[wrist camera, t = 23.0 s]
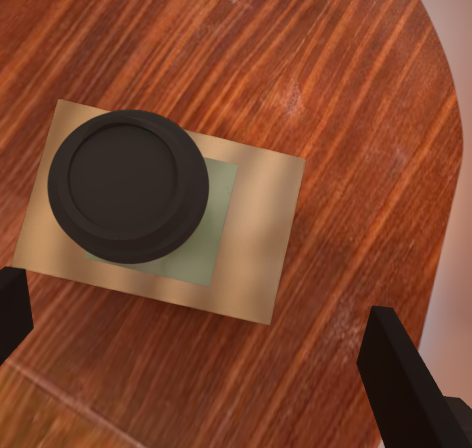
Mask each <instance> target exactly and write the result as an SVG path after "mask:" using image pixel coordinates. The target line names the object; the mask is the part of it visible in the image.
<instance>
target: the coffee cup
mask: <svg viewBox="0 0 472 448" xmlns="http://www.w3.org/2000/svg"><path fill="white" fill-rule="evenodd" d="M47 191H48V199H49V204H50V207H51V210H52V213H53V215H54V217H55V219H56V221H57V222H58V224H59V225H60V227H61V228H62V230H63V231H64V232H65V233H66V234H67V235H68V236H69V237H70V238H71V239H72V240H73V241H75V242H76V243H77V244H78V245H79V246H80V247H81V248H83V249H84V250H85V251H87V252H89V253H90V254H92V255H94V256H96V257H98V258H101V259H103V260H106V261H110V262H114V263H120V264H139V263H146V262H150V261H153V260H157V259H159V258H162V257H164V256H166V255H168V254H170V253H171V252H173V251H174V250H176V249H177V248H179V247H180V246H181V245H182V244H184V243H185V242H186V241H187V240H188V239H189V238H190V237H191V236H192V235H193V233H194V232H195V231H196V229H197V228H198V226H199V224H200V222H201V220H202V218H203V215H204V213H205V210H206V206H207V202H208V196H209V177H208V171H207V167H206V164H205V161H204V158H203V156H202V154H201V152H200V150H199V148H198V147H197V145H196V143H195V142H194V141H193V139H192V138H191V137H190V136H189V135H188V134H187V132H185V131H184V130H183V129H182V128H181V127H180V126H178V125H177V124H176V123H174V122H172V121H171V120H169V119H167V118H165V117H163V116H160V115H158V114H155V113H151V112H147V111H141V110H118V111H112V112H108V113H104V114H101V115H99V116H96V117H94V118H92V119H90V120H88V121H86V122H84V123H83V124H81V125H80V126H79V127H77V128H76V129H75V130H74V131H72V132H71V133H70V134H69V135H68V136H67V138H66V139H65V140H64V141H63V142H62V144H61V145H60V147H59V148H58V150H57V152H56V153H55V155H54V158H53V160H52V163H51V166H50V169H49V174H48V181H47Z"/></svg>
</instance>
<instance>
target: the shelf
mask: <svg viewBox="0 0 472 448" xmlns="http://www.w3.org/2000/svg"><path fill="white" fill-rule="evenodd" d="M108 112H110V111H106V110H102V109H98V108H94V107H90V106H86V105H82V104H78V103H73V102H69V101H65V100H61V99H58V102H57V105H56V109H55V112H54V116H53V119H52V123H51V126H50V130H49V133H48V137H47V140H46V144H45V147H44V151H43V154H42V158H41V161H40V165H39V168H38V172H37V175H36V179H35V182H34V186H33V189H32V193H31V196H30V200H29V203H28V207H27V210H26V214H25V217H24V221H23V224H22V228H21V231H20V235H19V238H18V242H17V245H16V249H15V252H14V256H13V259H12V263H11V267H16V268H25V270H28V271H33V272H37V273H42V274H46V275H50V276H55V277H59V278H63V279H68V280H72V281H77V282H81V283H85V284H90V285H94V286H98V287H103V288H107V289H112V290H116V291H120V292H125V293H129V294H133V295H138V296H142V297H147V298H151V299H155V300H160V301H164V302H168V303H173V304H177V305H182V306H186V307H190V308H195V309H199V310H204V311H208V312H212V313H217V314H221V315H225V316H230V317H234V318H239V319H243V320H247V321H252V322H256V323H260V324H265V325H270V323H271V318H272V314H273V309H274V304H275V300H276V295H277V291H278V286H279V282H280V277H281V273H282V268H283V263H284V259H285V254H286V250H287V245H288V241H289V236H290V232H291V227H292V222H293V218H294V213H295V209H296V204H297V200H298V195H299V191H300V186H301V182H302V177H303V172H304V168H305V163H306V159H304V158H299V157H295V156H291V155H287V154H283V153H279V152H275V151H271V150H267V149H263V148H258V147H254V146H250V145H246V144H242V143H238V142H234V141H230V140H226V139H221V138H217V137H213V136H209V135H205V134H201V133H197V132H193V131H189V130H184V129H183V130H184V131H185V132H187V134H188V135H189V136H190V137H191V138H192V139H193V141H194V142H195V143H196V145H197V147H198V148H199V150H200V152H201V154H202V156H203V158H204V161H205V164H206V167H207V171H208V177H209V196H208V202H207V206H206V210H205V213H204V215H203V218H202V220H201V222H200V224H199V226H198V228H197V229H196V231H195V232H194V233H193V235H192V236H191V237H190V238H189V239H188V240H187V241H186V242H185V243H184V244H182V245H181V246H180V247H179V248H177V249H176V250H174V251H173V252H171V253H170V254H168V255H166V256H164V257H162V258H159V259H157V260H153V261H150V262H146V263H139V264H120V263H114V262H110V261H106V260H103V259H101V258H98V257H96V256H94V255H92V254H90V253H89V252H87V251H85V250H84V249H83V248H81V247H80V246H79V245H78V244H77V243H76V242H75V241H73V240H72V239H71V238H70V237H69V236H68V235H67V234H66V233H65V232H64V231H63V230H62V228H61V227H60V225H59V224H58V222H57V221H56V219H55V217H54V215H53V213H52V210H51V207H50V204H49V199H48V191H47V181H48V174H49V169H50V166H51V163H52V160H53V158H54V155H55V153H56V152H57V150H58V148H59V147H60V145H61V144H62V142H63V141H64V140H65V139H66V138H67V136H68V135H69V134H70V133H71V132H72V131H74V130H75V129H76V128H77V127H79V126H80V125H81V124H83V123H84V122H86V121H88V120H90V119H92V118H94V117H96V116H99V115H101V114H104V113H108Z"/></svg>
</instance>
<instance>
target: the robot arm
mask: <svg viewBox="0 0 472 448" xmlns="http://www.w3.org/2000/svg"><path fill="white" fill-rule="evenodd" d="M33 328H34V326H33V319H32V312H31V305H30V298H29V291H28V284H27V277H26V270H25V268H16V267H6V266H5V267H4V268H3V269H1V270H0V366H1V365H2V363H3V362H4V361H5V360H6V359H7V358H8V357H9V356H10V354H11V353H12V352H13V351H14V350H15V349H16V348H17V346H18V345H19V344H20V343H21V342H22V341H23V340H24V338H25V337H26V336H27V335H28V334H29V333H30V332H31V330H32V329H33ZM357 366H358V369H359V372H360V375H361V378H362V381H363V384H364V387H365V390H366V393H367V396H368V399H369V402H370V405H371V408H372V411H373V413H374V416H375V419H376V422H377V425H378V428H379V431H380V434H381V437H382V440H383V443H384V446H385V448H472V409H471V408H470V407H469V406H468V405H467V404H466V403H465V402H464V401H462V400H461V399H460V398H455V397H446V396H443V395H442V393H441V391H440V389H439V388H438V386H437V384H436V382H435V381H434V379H433V377H432V376H431V374H430V372H429V370H428V369H427V367H426V365H425V363H424V362H423V360H422V358H421V356H420V355H419V353H418V351H417V349H416V348H415V346H414V344H413V342H412V341H411V339H410V337H409V335H408V334H407V332H406V330H405V328H404V327H403V325H402V323H401V321H400V320H399V318H398V316H397V315H396V313H395V311H394V309H393V308H391V307H381V306H372V307H371V311H370V315H369V319H368V322H367V326H366V330H365V333H364V337H363V341H362V344H361V348H360V352H359V356H358V359H357Z"/></svg>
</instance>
